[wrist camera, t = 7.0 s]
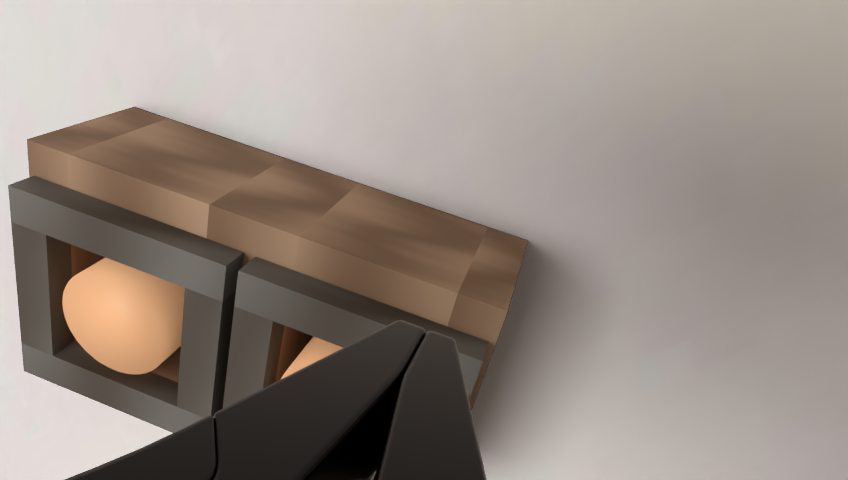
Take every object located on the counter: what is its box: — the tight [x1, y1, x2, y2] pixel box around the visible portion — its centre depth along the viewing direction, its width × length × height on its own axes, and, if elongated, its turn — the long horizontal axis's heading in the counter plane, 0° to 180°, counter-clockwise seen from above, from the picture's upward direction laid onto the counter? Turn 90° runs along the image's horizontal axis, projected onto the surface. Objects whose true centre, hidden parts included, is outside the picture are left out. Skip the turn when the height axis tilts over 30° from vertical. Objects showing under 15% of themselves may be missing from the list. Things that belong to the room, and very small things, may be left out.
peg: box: [62, 257, 185, 374], centre depth 23 cm, size 4×4×6 cm
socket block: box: [8, 107, 528, 480], centre depth 22 cm, size 16×10×6 cm, turn 76°
